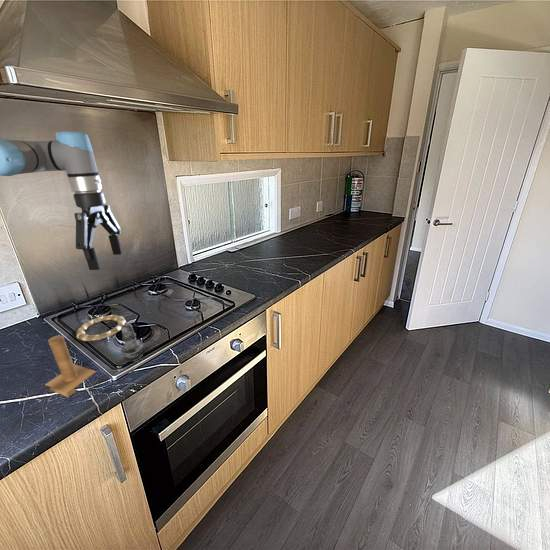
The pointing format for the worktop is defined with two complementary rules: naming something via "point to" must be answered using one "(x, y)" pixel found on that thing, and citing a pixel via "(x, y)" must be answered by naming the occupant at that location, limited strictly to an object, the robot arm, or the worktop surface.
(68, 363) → the post stand
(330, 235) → the worktop surface
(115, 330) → the ring
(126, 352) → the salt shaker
